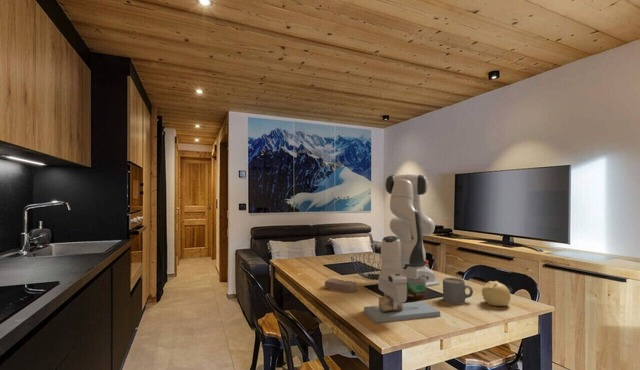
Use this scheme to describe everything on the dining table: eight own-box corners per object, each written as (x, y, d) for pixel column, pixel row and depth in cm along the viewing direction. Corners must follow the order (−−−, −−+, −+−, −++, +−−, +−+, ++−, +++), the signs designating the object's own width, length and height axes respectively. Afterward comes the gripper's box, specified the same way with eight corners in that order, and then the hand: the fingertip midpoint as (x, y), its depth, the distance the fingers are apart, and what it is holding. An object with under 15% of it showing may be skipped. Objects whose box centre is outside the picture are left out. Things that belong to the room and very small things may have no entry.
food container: (414, 301, 155) (414, 280, 156) (405, 297, 161) (405, 277, 161) (432, 297, 161) (432, 277, 161) (423, 293, 167) (423, 274, 167)
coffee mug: (441, 301, 154) (440, 281, 155) (445, 296, 163) (445, 276, 163) (471, 306, 147) (470, 285, 147) (474, 300, 155) (473, 280, 156)
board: (423, 305, 149) (423, 301, 149) (440, 316, 136) (440, 311, 136) (363, 311, 142) (363, 306, 142) (375, 322, 129) (375, 317, 129)
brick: (357, 289, 175) (357, 281, 175) (351, 293, 168) (351, 284, 168) (331, 285, 183) (331, 277, 184) (324, 289, 176) (324, 280, 176)
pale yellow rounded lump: (483, 298, 159) (483, 277, 159) (511, 303, 152) (511, 280, 152) (480, 305, 149) (479, 282, 150) (509, 310, 142) (509, 286, 143)
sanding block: (397, 306, 141) (397, 295, 141) (402, 310, 136) (402, 298, 137) (378, 308, 139) (378, 296, 139) (383, 311, 134) (383, 300, 135)
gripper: (374, 269, 147) (375, 299, 147) (395, 280, 128) (395, 315, 127) (387, 268, 149) (387, 297, 149) (409, 279, 129) (409, 313, 129)
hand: (391, 306), depth 138 cm, fingers closed on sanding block, 4 cm apart
